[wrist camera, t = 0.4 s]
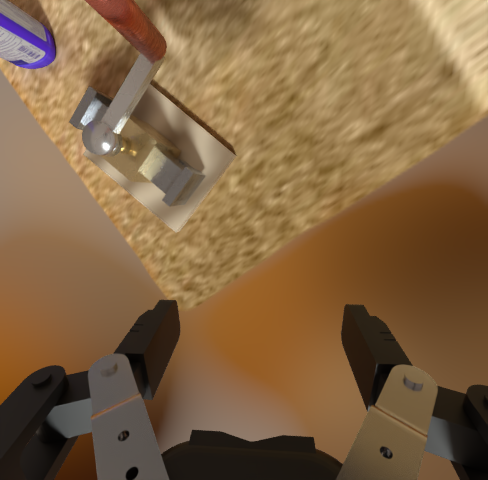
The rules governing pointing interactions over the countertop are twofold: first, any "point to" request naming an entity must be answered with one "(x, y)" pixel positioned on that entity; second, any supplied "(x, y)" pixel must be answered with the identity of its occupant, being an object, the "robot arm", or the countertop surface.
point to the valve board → (193, 152)
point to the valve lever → (137, 81)
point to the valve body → (143, 152)
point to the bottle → (24, 38)
